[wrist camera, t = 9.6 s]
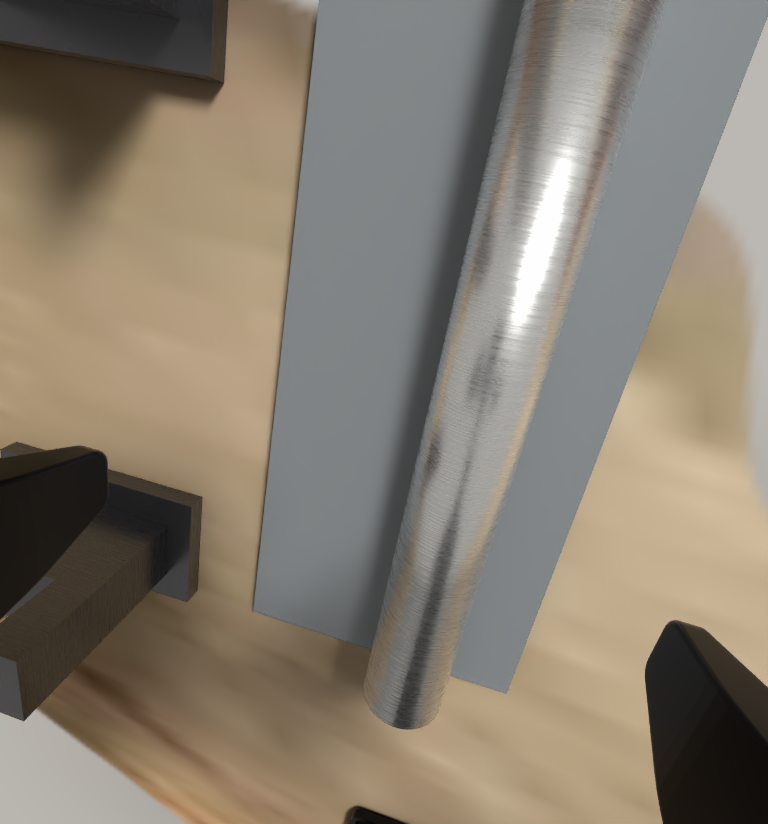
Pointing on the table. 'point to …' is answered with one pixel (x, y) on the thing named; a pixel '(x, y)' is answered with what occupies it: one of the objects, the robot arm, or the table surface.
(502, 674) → the grey plate
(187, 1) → the dark grey notched cradle
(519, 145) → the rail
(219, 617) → the table surface
